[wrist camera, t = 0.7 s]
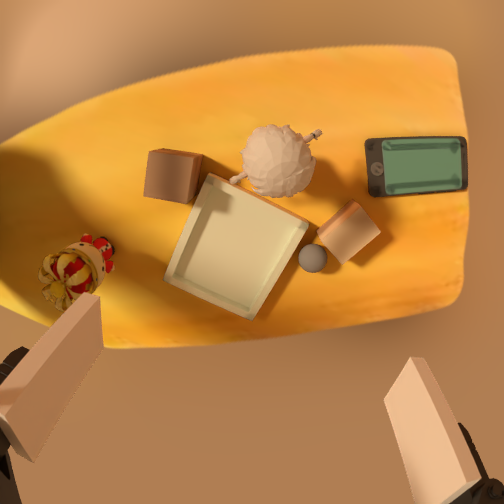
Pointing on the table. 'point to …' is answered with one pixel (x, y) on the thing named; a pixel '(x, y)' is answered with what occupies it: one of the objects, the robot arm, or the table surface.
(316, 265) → the grey ball
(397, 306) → the table surface
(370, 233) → the maple block
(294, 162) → the figurine
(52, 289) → the toy
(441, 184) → the smartphone
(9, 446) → the robot arm
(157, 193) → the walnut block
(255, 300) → the tray
